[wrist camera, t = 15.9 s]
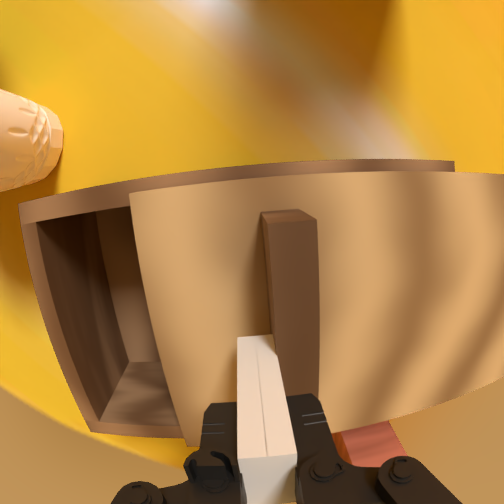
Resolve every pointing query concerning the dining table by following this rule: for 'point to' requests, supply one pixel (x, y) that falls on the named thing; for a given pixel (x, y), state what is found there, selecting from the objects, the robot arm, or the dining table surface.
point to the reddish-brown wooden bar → (368, 445)
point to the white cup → (27, 141)
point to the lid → (328, 287)
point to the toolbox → (124, 290)
